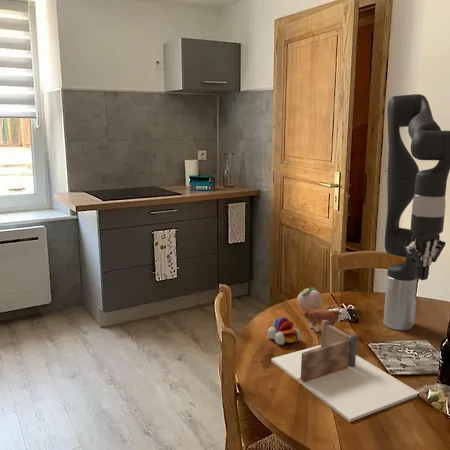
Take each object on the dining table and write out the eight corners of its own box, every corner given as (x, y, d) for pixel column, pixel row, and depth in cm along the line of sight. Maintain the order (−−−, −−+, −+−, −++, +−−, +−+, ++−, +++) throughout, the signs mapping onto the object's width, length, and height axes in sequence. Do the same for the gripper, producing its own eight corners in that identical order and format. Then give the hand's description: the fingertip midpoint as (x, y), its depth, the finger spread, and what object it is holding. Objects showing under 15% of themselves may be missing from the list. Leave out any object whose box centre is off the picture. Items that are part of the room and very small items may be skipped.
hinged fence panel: (345, 363, 132) (346, 338, 131) (348, 365, 131) (350, 340, 130) (300, 379, 124) (301, 353, 123) (303, 381, 123) (304, 354, 122)
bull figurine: (347, 335, 153) (349, 311, 151) (305, 331, 155) (306, 308, 154) (347, 329, 157) (348, 306, 155) (306, 325, 160) (307, 303, 158)
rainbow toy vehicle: (281, 349, 144) (282, 326, 142) (264, 336, 152) (264, 315, 150) (303, 343, 147) (304, 321, 146) (285, 331, 156) (286, 310, 154)
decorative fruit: (315, 320, 164) (316, 292, 162) (293, 315, 168) (294, 288, 166) (325, 311, 172) (326, 285, 170) (303, 306, 176) (305, 280, 174)
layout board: (333, 343, 147) (335, 315, 145) (418, 395, 119) (422, 360, 117) (271, 361, 136) (272, 330, 134) (349, 422, 109) (352, 384, 107)
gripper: (433, 207, 124) (427, 270, 128) (397, 212, 118) (392, 279, 122) (459, 212, 117) (452, 279, 121) (422, 218, 111) (415, 288, 115)
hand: (422, 278), depth 122 cm, fingers closed
